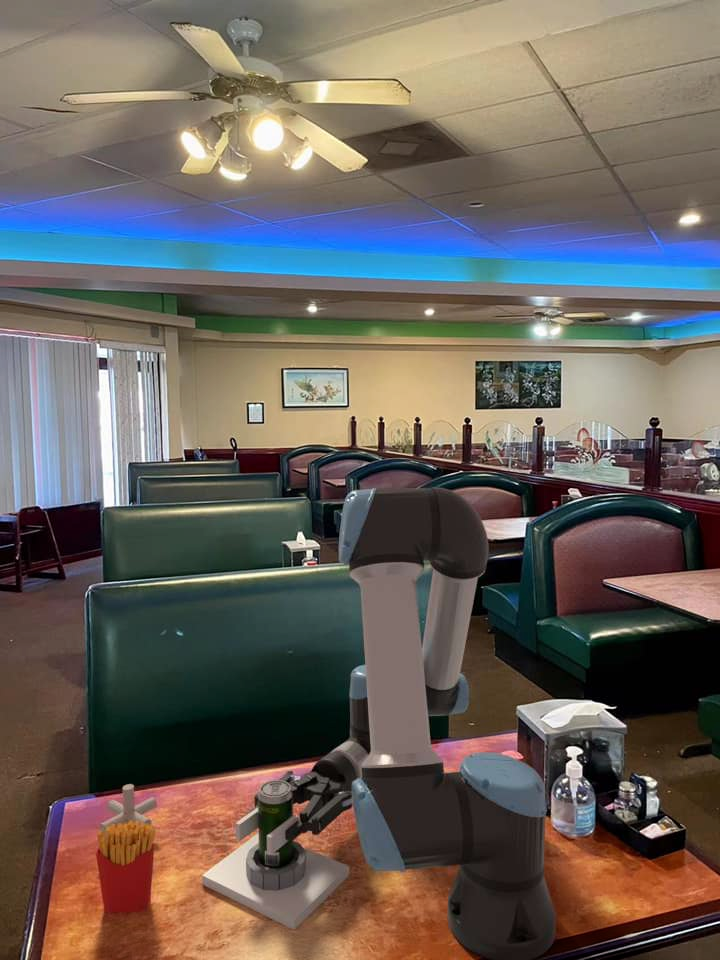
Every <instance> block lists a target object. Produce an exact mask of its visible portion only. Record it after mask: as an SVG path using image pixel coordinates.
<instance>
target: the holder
mask: <svg viewBox="0 0 720 960" xmlns="http://www.w3.org/2000/svg"><path fill="white" fill-rule="evenodd" d="M293 844H294V857H293V860H292V863H291V865H290V866H289V867H287V868H284V869H281V870H266V869H264V868H263V867H262V865H261V863H260V861H259V832H257V833H256V834H255V835H254V836H253V837H251V838H250V839H249V840H247V841H246V842H244V843H243V844H241V845H240V846H239V847H237V848H236V849H235V850H234V851H232V852H231V853H230V854H228V855H227V856H225V857H224V858H223V859H222V860H221V861H219V862H218V863H216V864H215V865H214V866H212V867H211V868H209V870H207V871H206V872H205V873H203V874H202V875H201V879H202V881H201V883H202V884H201V885H203V886H205V887H207V888H209V889H210V890H212V891H215V892H217V893H218V894H221V895H223V896H225V897H227V898H229V899H231V900H233V901H235V902H236V903H238V904H241V905H242V906H245V907H247V908H249V909H250V910H253V911H255V912H258V913H259V914H261V915H262V916H265V917H267V918H269V919H271V920H273V921H274V922H277V923H279V924H282V925H283V926H285V927H287V928H289V929H291V930H293V931H295V930H296V929H297V928H298V927H299V926H300V925H301V924H302V923H304V921H305V920H306V919H307V918H308V917H309V916H310V915H311V914H313V912H314V911H315V910H316V909H318V908H319V906H321V904H322V903H323V902H324V901H325V900H326V899H327V898H328V897H329V896H330V895H332V893H334V891H335V890H336V889H338V887H339V886H340V885H341V884H342V883H343V882H344V881H345V880H346V879H347V878H348V877H349V876H350V866H349V865H347V864H345V863H342V862H340V861H336V860H334V859H332V858H329V857H327V856H325V855H322V854H320V853H318V852H315V851H313V850H310V849H308V848H305V847H304V846H303V845H302V844H301V843H299V841H295V840H293Z"/></svg>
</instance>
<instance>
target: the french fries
mask: <svg viewBox="0 0 720 960" xmlns="http://www.w3.org/2000/svg"><path fill="white" fill-rule="evenodd" d="M139 824H140V821H136V822H135V823H133V821H130V820H129V822H128V824H124V825H122V823H118V826H117V828H116V824H112V825H111V826H108V827H107V828H106V833H105V835H103V832H102V830H100V829H99V830H97V834H96V835H97V842H98V848H97V850H96V852H95V855H96V856H95V857H96V864H97V869H98V871H97V872H98V876H99V882H100V889H101V896H102V903H103V910H104V911H106V912H107V913H108V914H135V913H136V914H138V913H139V912H142V911H145V910H146V909H148V907H149V905H150V901H151V894H152V880H153V867H154V857H155V855H154V854H155V843H154V840H155V834H156V833H155V832H156V828H157V827H156V826H152V825H151V827H150V825H147V823H141V826H140V825H139Z"/></svg>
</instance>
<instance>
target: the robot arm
mask: <svg viewBox="0 0 720 960" xmlns="http://www.w3.org/2000/svg"><path fill="white" fill-rule="evenodd" d="M342 507H343V508H342V512H341V520H340V527H339V529H340V530H339V538H338V539H339V540H338V562H339V563H340V564H343V565H344V566H347V565H349V566H348V567H349V577H350V578H351V579H353V580H354V581H355V582H356V583H357V584H358V585H359V588H360V599H361V601H360V602H361V616H362V617H361V618H362V629H363V630H362V634H363V646H364V647H363V648H364V649H363V650H364V661H365V663H364V664H363V665H362V664H361V665H358V666H357V667H355V668H354V669H353V670H352V671H351V673H350V686H349V692H348V693H349V714H350V718H349V721H350V722H349V724H350V726H349V738H348V739H346V740H345V741H344V742H343V743H341V744H340V745H338V746H337V747H335V748H334V749H333V750H331V751H330V752H329V753H327V754H326V755H325V756H323V757H321V758H320V759H319V760H318V761H316V763H315V764H314V765H313V767H312V769H311V770H310V771H309V772H306V773H304V774H302V775H301V776H300V775H294V771H293V770H288V771H286V772H285V774H284V775H283V776H282V777H281V778H278V780H282V781H286V782H287V783H289V784H290V785H291V790H292V793H293V805H295V804H297V805H302V804H304V803H307V802H308V803H307V804H306V805H305V807H304V809H303V810H302V811H301V810H300V811H299V816H298V815H296V814H293V816H292V817H291V818H289V819H288V820H287V821H285V822H284V823H283V824H282V825H280V826H279V827H278V828H276V829H275V830H274V831H272V832H271V833H270V834H269V835H267V854H270V855H272V854H273V853H274V852H275V851H277V850H278V849H279V848H280V847H282V846H283V845H284V844H285V843H286V842H288V841H295V840H296V839H297V838H298V837H299V836H301V834H306V833H308V832H311V834H312V835H314V836H316V835H317V836H318V835H319V834H320V833H322V832H323V831H324V830H325V829H326V828H327V827H328V826H329V825H330V824H332V823H333V821H335V820H336V819H337V818H338V817H339V816H340V815H341V814H342V813H344V812H346V811H348V810H351V809H352V808H353V813H354V819H355V824H356V829H357V834H358V838H359V839H358V840H359V843H360V846H361V851H362V853H363V856H364V857H363V858H364V859H365V861H366V863H367V865H368V866H369V868H371V869H372V870H373V871H375V872H401V873H405V872H406V871H411V870H421V869H430V868H440V867H453V866H459V868H458V869H457V873H456V876H455V879H454V882H453V884H452V886H451V890H450V892H449V896H448V900H447V922H448V926H449V930H450V931H451V933H452V934H453V936H454V938H456V940H457V941H458V942H459V944H461V945H462V946H464V947H465V948H466V949H467V950H469V951H471V952H472V953H474V954H476V955H477V956H480V957H483V958H485V959H488V960H534V959H536V958H539V957H540V956H543V954H545V953H546V952H548V950H549V949H550V948H551V947H552V945H553V944H554V941H555V938H556V929H557V928H556V926H557V925H556V924H557V918H556V910H555V906H554V904H553V901H552V898H551V897H552V896H551V894H550V891H549V888H548V884H547V882H546V878H545V872H544V871H545V851H546V850H545V847H546V815H547V812H548V808H547V805H546V789H545V783H544V781H543V778H542V777H541V776H540V775H539V773H538V772H537V771H536V769H534V768H533V767H531V766H530V765H529V764H527V763H525V762H524V761H521V760H518V759H516V758H515V757H512V756H509V755H506V754H501V753H495V752H475V753H471V754H469V756H465V757H464V758H463V760H462V762H461V764H460V766H459V771H455V772H453V771H452V772H445V768H444V760H443V757H441V756H440V755H439V754H438V753H437V752H436V751H434V749H433V747H432V743H431V734H430V731H431V730H430V722H429V721H430V720H429V717H433V716H434V717H441V716H443V717H444V716H450V715H454V714H455V715H457V714H462V713H464V712H466V711H467V710H468V707H469V702H470V701H469V699H470V698H469V695H470V693H469V692H470V690H469V685H468V682H467V678H466V676H465V675H464V674H463V673H461V669H462V665H463V664H462V663H463V659H464V653H465V649H466V643H467V639H468V637H467V636H468V631H469V627H470V623H471V622H470V621H471V615H472V611H473V606H474V600H475V594H476V589H477V586H478V585H477V584H478V579H479V577H481V576H482V575H484V574H485V572H486V569H487V563H488V558H489V549H490V548H489V539H488V535H487V530H486V528H485V525H484V522H483V520H482V519H481V516H480V515H479V513H478V512H477V511H476V509H475V508H474V507H473V505H472V503H470V502H469V501H468V500H467V499H466V498H465V497H463V496H461V495H460V494H459V493H457V492H456V491H454V490H451V489H447V488H444V487H438V486H437V487H436V486H435V487H433V486H432V487H429V488H428V487H423V488H422V487H421V488H420V487H419V488H418V487H415V488H414V487H412V488H411V487H409V488H408V487H405V488H404V487H402V488H400V487H398V488H396V487H395V488H377V487H373V488H368V489H355V490H353V491H350V492H348V494H347V495H346V497H345V499H344V502H343V505H342ZM427 561H428V564H429V566H430V567H431V569H432V575H431V585H430V590H429V596H428V606H427V611H426V618H425V627H424V633H423V639H422V637H421V625H420V615H419V614H420V613H419V603H418V592H417V581H418V579H419V578H420V577H421V576H422V575H423V573H424V572H425V562H427ZM258 794H259V792H257V793H255V794H254V800H253V801H254V806H253V807H252V809H250V810H249V811H247V812H246V814H245V815H244V817H242V818H240V819H239V820H238V821H236V822H235V840H236V841H237V842H241V841H242V840H244V839H245V838H247V837H248V836H249V835H250V834H252V833H253V832H255V831H256V830H258V829H259V828H258Z"/></svg>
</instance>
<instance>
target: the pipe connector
mask: <svg viewBox="0 0 720 960" xmlns="http://www.w3.org/2000/svg"><path fill="white" fill-rule="evenodd" d="M157 806H158V801H157V799H156V798H155V797H150V798H148V799H146V800H144V801H142V802H140V803H138V804H137V805H136V804H135V785H134V784H133V783H129V784H125V785H123V786H122V803H120V802H118V801H116V800H115V799H112V800H110V801H109V802H108V804H107V806H106V809H107V811H109V812H110V813H113V814H114V815H115V816H114V817H111V818H109V819H108V820H106V821H104V822H101V823H100V824H99V830H102V832H103V836H105V833H106V828H107V827H108V826H111V825H112V824H116V828H117V826H118V823H122V825H123V826H124V824H128V822H129V820H130V821H133V823H135V822H136V821H140V824H139V825H140V826H141V823H147V825H150V828H152V824H153V823H152V820H151V819H150V818H148V817H147V816H144V815H145V814H146V813H149V812H150V811H152V810H154V809H157Z"/></svg>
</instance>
